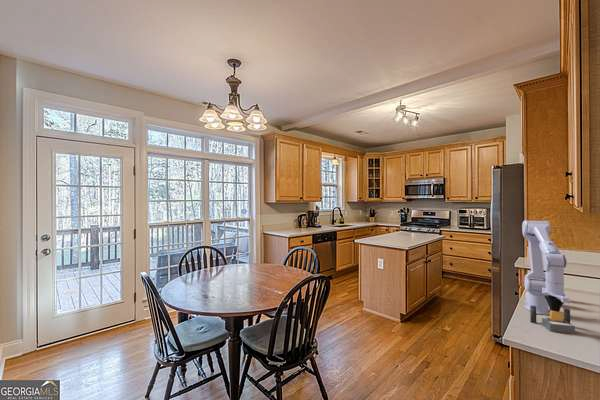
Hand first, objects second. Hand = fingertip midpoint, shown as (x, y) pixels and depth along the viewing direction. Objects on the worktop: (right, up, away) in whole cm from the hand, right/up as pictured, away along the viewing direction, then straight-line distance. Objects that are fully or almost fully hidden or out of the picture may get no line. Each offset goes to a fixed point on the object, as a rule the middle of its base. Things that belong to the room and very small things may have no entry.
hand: (554, 314), depth 116 cm
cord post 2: (+7, -6, +2) cm, 9 cm away
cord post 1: (-5, -6, +5) cm, 9 cm away
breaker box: (-1, -5, -2) cm, 6 cm away
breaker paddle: (0, -2, -1) cm, 3 cm away
